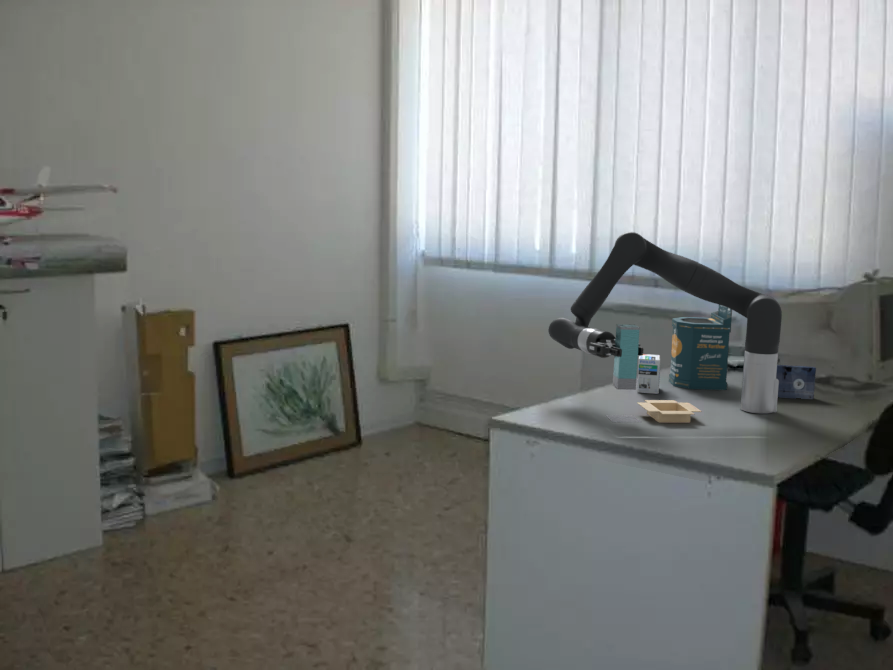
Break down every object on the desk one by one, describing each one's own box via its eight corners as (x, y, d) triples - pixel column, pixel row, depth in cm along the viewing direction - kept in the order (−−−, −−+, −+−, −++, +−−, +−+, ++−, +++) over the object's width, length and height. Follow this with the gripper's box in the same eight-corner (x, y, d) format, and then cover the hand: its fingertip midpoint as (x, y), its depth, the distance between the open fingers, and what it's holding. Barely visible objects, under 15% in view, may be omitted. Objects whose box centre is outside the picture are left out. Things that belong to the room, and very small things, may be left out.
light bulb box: (658, 394, 316) (660, 360, 315) (636, 393, 318) (638, 358, 316) (658, 387, 327) (660, 354, 325) (637, 386, 328) (639, 353, 326)
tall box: (630, 385, 282) (634, 324, 280) (635, 389, 277) (639, 327, 275) (612, 385, 282) (616, 324, 279) (617, 389, 277) (621, 327, 274)
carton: (684, 412, 292) (684, 400, 292) (704, 426, 276) (705, 413, 275) (633, 412, 291) (634, 400, 290) (650, 426, 274) (651, 413, 274)
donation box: (726, 390, 326) (732, 302, 322) (676, 388, 326) (681, 301, 322) (714, 380, 342) (720, 296, 337) (665, 378, 342) (670, 295, 338)
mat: (633, 416, 285) (633, 415, 285) (641, 423, 277) (641, 422, 277) (605, 416, 284) (605, 415, 284) (612, 423, 276) (612, 421, 276)
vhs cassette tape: (812, 398, 317) (815, 366, 316) (814, 400, 314) (816, 368, 313) (751, 394, 320) (753, 363, 319) (752, 396, 317) (754, 364, 316)
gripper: (575, 330, 287) (610, 339, 272) (618, 328, 293) (654, 337, 278) (574, 356, 288) (608, 367, 273) (616, 354, 294) (652, 364, 279)
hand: (631, 352), depth 276 cm, fingers closed on tall box, 6 cm apart
